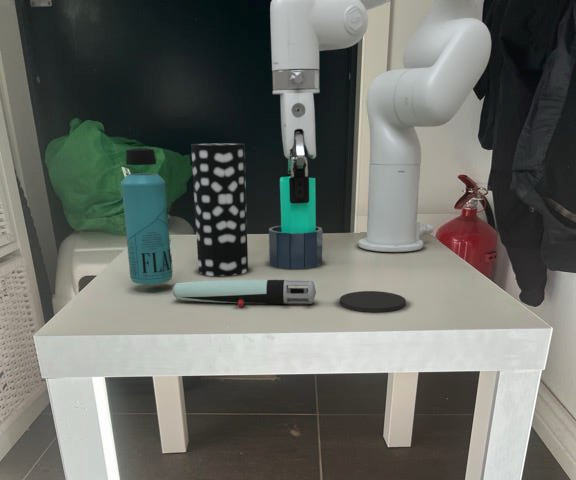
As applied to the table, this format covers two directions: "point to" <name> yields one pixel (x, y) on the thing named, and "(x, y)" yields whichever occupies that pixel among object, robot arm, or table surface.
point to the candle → (297, 210)
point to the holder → (295, 249)
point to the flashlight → (246, 291)
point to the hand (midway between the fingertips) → (298, 199)
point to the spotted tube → (220, 208)
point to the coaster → (372, 301)
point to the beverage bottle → (146, 221)
